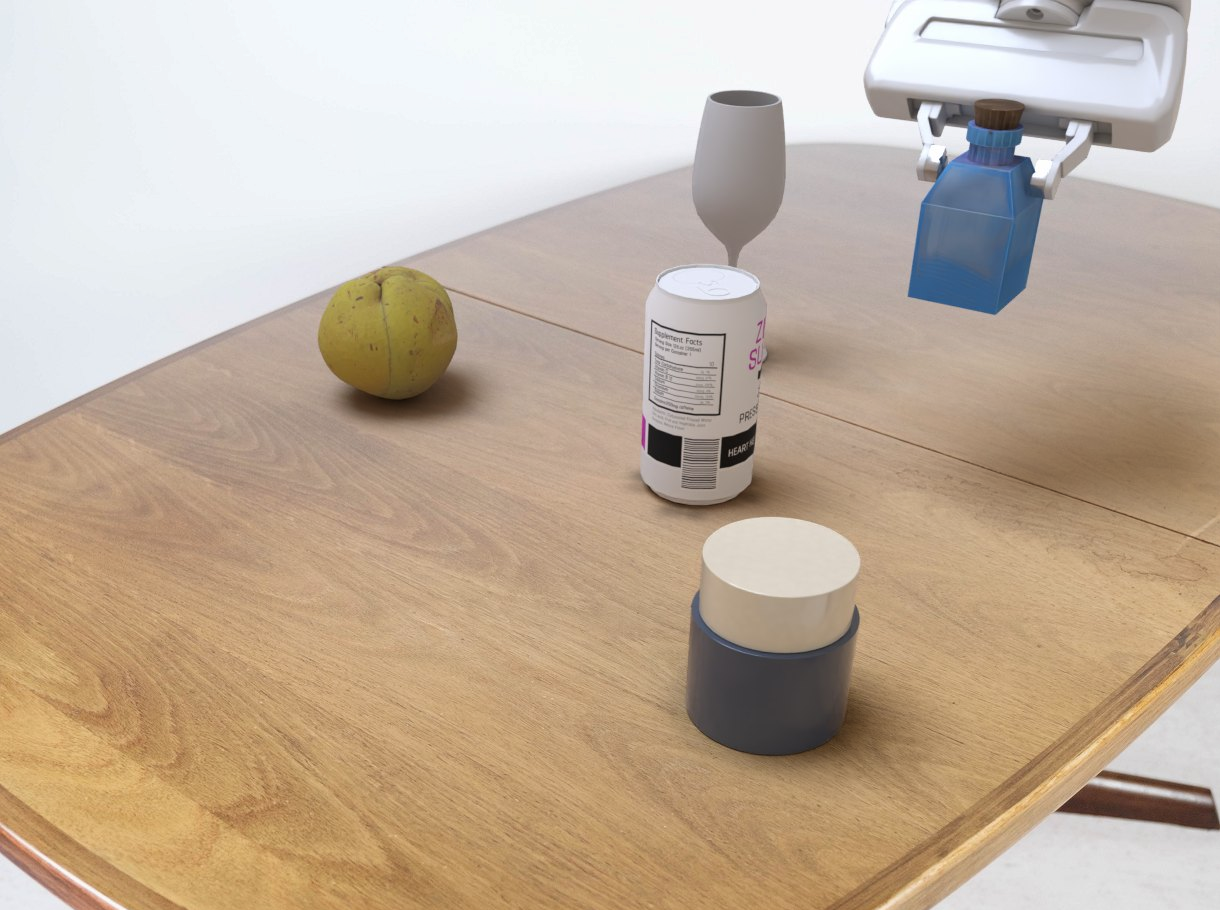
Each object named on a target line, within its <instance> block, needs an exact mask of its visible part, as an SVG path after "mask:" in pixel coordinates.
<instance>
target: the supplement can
mask: <svg viewBox="0 0 1220 910" xmlns="http://www.w3.org/2000/svg"><path fill="white" fill-rule="evenodd" d="M767 311H768V303H767V300H766V298H765V295H764V293H763V291H762V289H761V282H760V280H759V279H758V277H757V276H756V275H754V273H753V274H752V273H751V272H749V271H746V270H745V269H741V268H738V267H737V268H734V267H731V266H728V265H723V264H716V263H692V264H684V265H677V266H674V267H671V268H666V269H665V270H663V271H661V272H660V273H659V274H657V276H656V280H655V284H654V285H653V287H652V289H651V291H650V293H649V294H648V297H647V298H646V300H645V313H644V316H645V317H644V345H643V346H644V348H643V375H642V377H643V378H642V379H643V380H642V406H641V407H642V409H641V410H642V411H641V443H640V476H641V478H642V480H643V482H644V483H645V484H646V485H647V486H648V487H650V490H651V491H652V492H654V493H655V494H656V495H658V496H659V497H660V498H663V499H665V500H668V501H670V502H673V503H678V504H684V505H689V506H709V505H716V504H721V503H722V504H723V503H725V502H727V501H730V500H732V499H734V498H736V497H738V495H740V493H742V492H743V491H744V490H746V489H747V487H748V486H750V484H752V479H753V473H754V459H755V450H756V449H755V448H756V439H757V426H758V416H759V415H758V413H759V403H760V392H761V380H762V369H763V362H762V358H763V347H765V335H766V322H767Z"/></svg>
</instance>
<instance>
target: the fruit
mask: <svg viewBox="0 0 1220 910" xmlns="http://www.w3.org/2000/svg"><path fill="white" fill-rule="evenodd" d="M458 338H459V337H458V329H457V324H456V319H455V313H454V308H453V303H452V301H451V298H450V296H449V294H448V292H447V291H446V289H445V288H444V286H443V285H442V284H441V283H440V282H439V281H437V279H435V278H433V277H432V276H430V275H429V274H427V273H425V272H422V271H419V270H416V269H414V268H409V267H404V266H386V267H382V268H380V269H376V270H373V271H370V272H369V273H366V274H364V275H363V276H362V277H360V278H355V279H351V280H347V281H345V283H343V284H342V285H341V286H339V287H338V288H337V290H336V291H335V292H334V294H333V295H332V297H331V298H330V300H329V301H328V303H327V306H326V307H325V310H324V311H323V313H322V315H321V319H320V322H319V325H318V331H317V344H318V349H319V352H320V354H321V356H322V359H323V361H324V363H325V364H326V366H327V368H328V369H329V370H330V371H331V373H332V374H333V375H334V376H335V377H336V378H338V379H339V380H340V381H341V382H343V383H345V384H346V385H349V386H351V387H352V388H355V389H357V390H359V391H362V392H365V393H367V394H369V395H372V396H375V397H379V398H384V399H388V400H406V399H411V398H414V397H417V396H419V395H421V394H422V393H425V392H426V391H427V390H429V389H430V388H432V387H433V386H434V384H436V383H437V381H439V380H440V378H442V376H443V375H444V374H445V373H446V371H447V369H448V367H449V366H450V364H451V362H452V360H453V357H454V355H455V353H456V351H457V347H458Z"/></svg>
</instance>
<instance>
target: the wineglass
mask: <svg viewBox="0 0 1220 910" xmlns="http://www.w3.org/2000/svg"><path fill="white" fill-rule="evenodd" d="M703 107H704V109H703V112H702V116H701V120H700V125H699V130H698V131H699V132H698V136H697V141H696V147H695V154H694V159H693V166H692V176H691V177H692V178H691V192H692V201H693V204H694V207H695V211H696V215H697V216H698V217H699V219H700V220H701V222H702V223H703V225H704V226H705V228H706V229H707V230H708V231H709V232H710V233H711V234H712V235H713V236H714V237H715V238H716V239H717V240H718V242H720V243H721V244H722V245H723V246H724V247H725V250H726V253H727V260H728V265H727V266H731V267H734V268H738V262H739V256H740V253H741V251H742V249H743V248H744V246H746V245H747V244H749V243H750V242H752V241H753V240H754V239H755V238H756V237H758V236H759V235H760V234H762V232H764V231H765V230H767V228H768V226H769V225H770V224H771V223H772V222H773V221H774V219H775V218H776V216H777V214H778V212H779V211H780V208H781V205H782V204H783V199H784V195H785V189H786V178H787V171H786V170H787V162H786V161H787V160H786V159H787V157H786V155H787V153H786V130H785V129H786V128H785V117H784V116H785V115H784V108H783V100H782V98H781V97H780V96H778V95H777V94H775V93H771V92H766V91H760V90H754V89H753V90H751V89H728V90H727V89H725V90H719V91H715V92H711V93H709V94H708V95H707V97H706V100H705V104H704V106H703ZM767 357H768V350H767V348H766V347H765V346H764V347H763V358H762V363H763V362H765V361H766V360H767Z"/></svg>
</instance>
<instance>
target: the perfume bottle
mask: <svg viewBox="0 0 1220 910" xmlns="http://www.w3.org/2000/svg"><path fill="white" fill-rule="evenodd" d="M1024 108H1025V105H1024V104H1023V103H1021V102H1018V101H1014V100H1008V99H995V98H991V99H980V100H977V101H975V102H974V114H975V120H972V121H970V122H969V123H968V129H966V130H967V131H966V136H965V140H966V141H967V142H968V143H969V145H968V150H966V151H965V152H963V153H961V154H959V155H957V157H954V158H953V159H952V160H950V161H948V165H947V166H946V168H945V169H944V171H943V172H942V174H941V175H940V176H939V178H938V179H937V181H936V182H935V183H934V184H933V185H932V186H931V188H930V189H929V190H928V192H927V194H926V195H925V197H924V198H923V200H922V201H921V202H920V207H919V208H920V209H919V215H918V221H917V229H916V235H915V236H916V237H915V243H914V250H913V256H912V263H911V271H910V276H909V283H908V291H907V297H908V298H911V299H916V300H921V301H925V302H931V303H935V304H940V305H945V306H950V307H955V308H959V309H963V310H967V311H969V310H970V311H973V312H978V313H984V314H988V315H992V316H996V315H998V314H999V312H1001V311H1002V310H1003V309H1004V308H1005V307H1006V306H1008V305H1009V304H1010V303H1011V302H1012V301H1013V300H1014V299H1015V298H1016V297H1018V296H1019V295H1020V294H1021V293H1022V292H1024V290H1025V289H1026V288H1027V283H1028V278H1029V275H1030V274H1029V273H1030V269H1031V264H1032V260H1033V254H1034V250H1035V249H1034V248H1035V244H1036V238H1037V233H1038V229H1039V223H1040V218H1041V213H1042V208H1043V203H1044V199H1041V198H1035V197H1030V192H1031V191H1030V190H1029V186H1030V181H1031V178H1032V175H1033V174H1034V173H1035V167H1034V164H1033V161H1032V158H1031V156H1025V155H1018V154H1015V153H1016V147H1017V146H1019V145H1021V143H1022V141H1023V136H1022V135H1023V129H1024V126H1023V125H1022V124H1020V123H1019V121H1020V119H1021V116H1022V114H1023V111H1024Z"/></svg>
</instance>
